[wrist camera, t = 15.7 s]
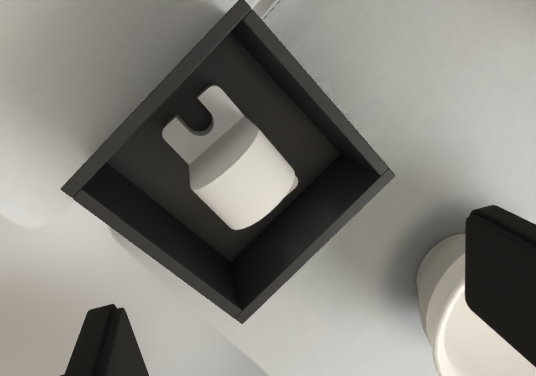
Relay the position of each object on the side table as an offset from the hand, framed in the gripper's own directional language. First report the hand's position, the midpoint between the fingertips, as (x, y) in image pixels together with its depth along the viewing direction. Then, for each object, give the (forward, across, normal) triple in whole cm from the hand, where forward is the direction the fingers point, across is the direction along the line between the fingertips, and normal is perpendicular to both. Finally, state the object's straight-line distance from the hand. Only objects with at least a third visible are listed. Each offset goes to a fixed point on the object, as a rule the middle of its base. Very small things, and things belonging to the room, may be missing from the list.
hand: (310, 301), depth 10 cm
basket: (+22, 0, +1) cm, 22 cm away
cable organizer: (+22, 0, +1) cm, 22 cm away
